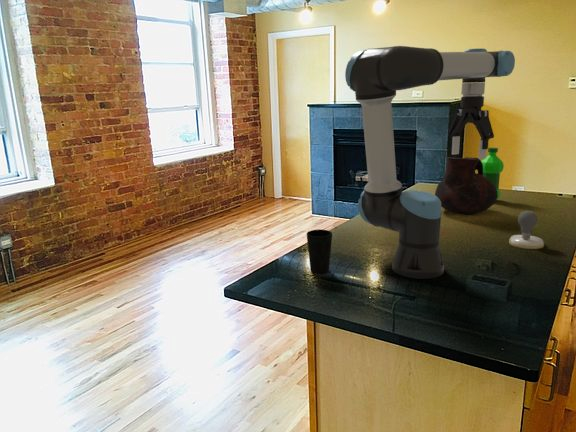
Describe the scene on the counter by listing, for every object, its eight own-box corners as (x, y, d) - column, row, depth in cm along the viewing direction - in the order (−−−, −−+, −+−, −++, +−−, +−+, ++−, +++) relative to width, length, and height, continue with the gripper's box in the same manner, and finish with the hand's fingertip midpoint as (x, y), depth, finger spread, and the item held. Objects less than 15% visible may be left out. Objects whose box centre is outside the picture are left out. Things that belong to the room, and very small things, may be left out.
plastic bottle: (504, 202, 221) (509, 149, 215) (481, 203, 221) (485, 149, 215) (495, 198, 231) (499, 146, 224) (473, 198, 231) (477, 147, 225)
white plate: (527, 250, 157) (527, 245, 157) (502, 241, 167) (502, 236, 167) (551, 246, 161) (551, 241, 161) (525, 237, 171) (525, 232, 170)
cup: (324, 277, 140) (324, 238, 137) (302, 272, 144) (301, 234, 141) (336, 268, 146) (336, 231, 143) (314, 264, 150) (314, 228, 147)
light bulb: (537, 238, 164) (540, 210, 162) (533, 242, 159) (536, 214, 157) (518, 235, 168) (520, 208, 165) (514, 240, 163) (517, 211, 160)
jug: (507, 213, 203) (513, 155, 197) (471, 223, 190) (476, 161, 183) (458, 202, 223) (461, 149, 217) (422, 211, 210) (424, 155, 203)
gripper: (509, 95, 156) (503, 159, 161) (456, 95, 178) (453, 151, 184) (491, 96, 153) (485, 161, 159) (440, 95, 176) (437, 153, 181)
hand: (468, 156), depth 171 cm, fingers open, 13 cm apart
